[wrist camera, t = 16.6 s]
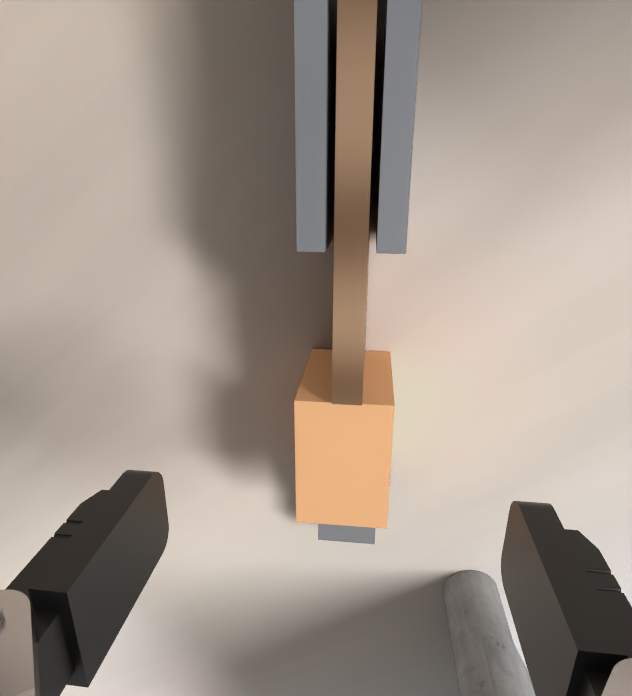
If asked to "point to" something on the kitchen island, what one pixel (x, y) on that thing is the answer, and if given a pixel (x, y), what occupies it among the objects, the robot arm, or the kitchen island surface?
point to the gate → (352, 193)
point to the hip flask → (482, 639)
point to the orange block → (344, 445)
